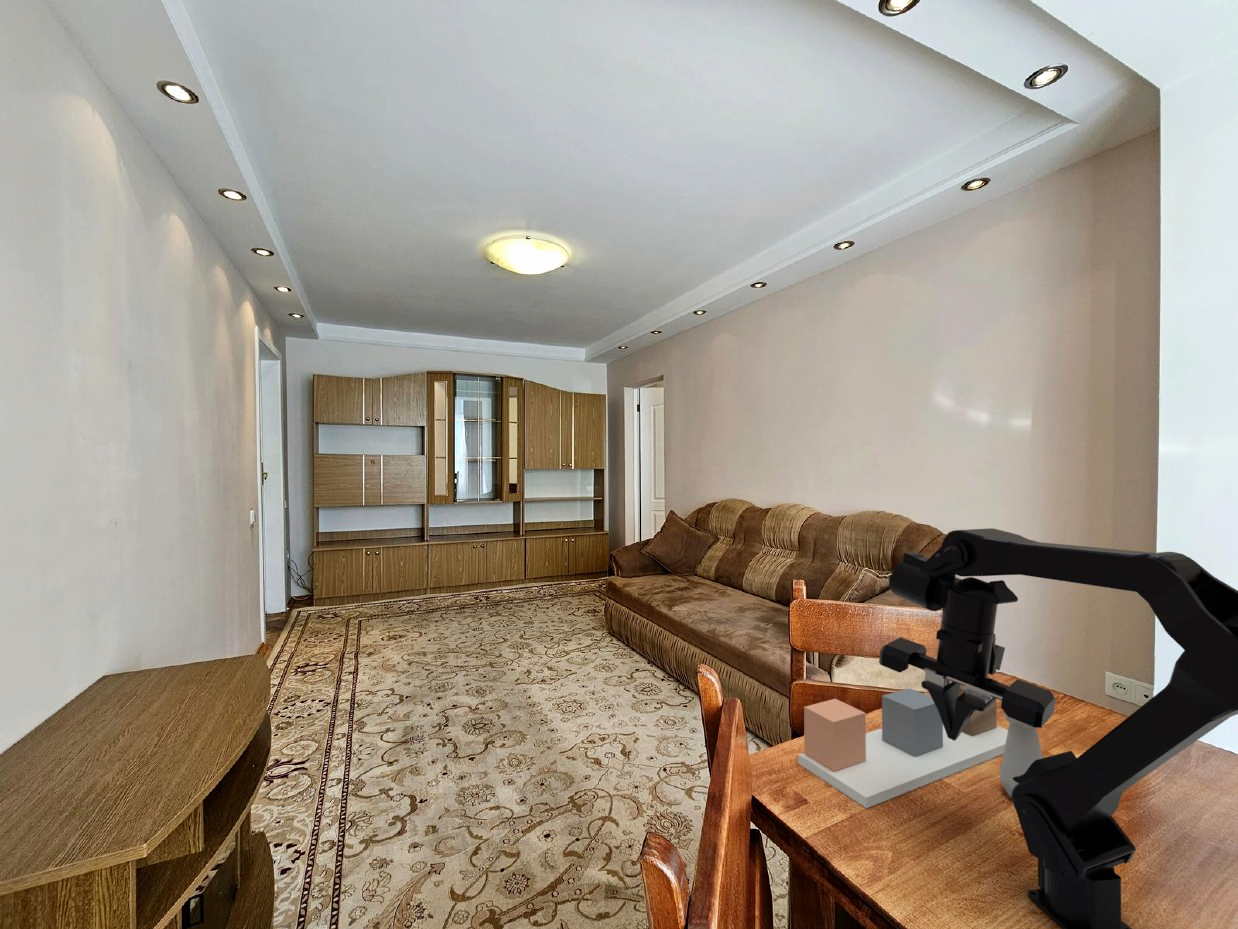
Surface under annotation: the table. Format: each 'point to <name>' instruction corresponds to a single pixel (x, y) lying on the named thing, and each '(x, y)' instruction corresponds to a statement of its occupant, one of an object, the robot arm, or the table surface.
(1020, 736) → the salt shaker
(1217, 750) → the table surface
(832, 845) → the table surface
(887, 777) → the grey base board
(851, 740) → the terracotta block
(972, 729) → the walnut block
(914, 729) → the dark slate block
